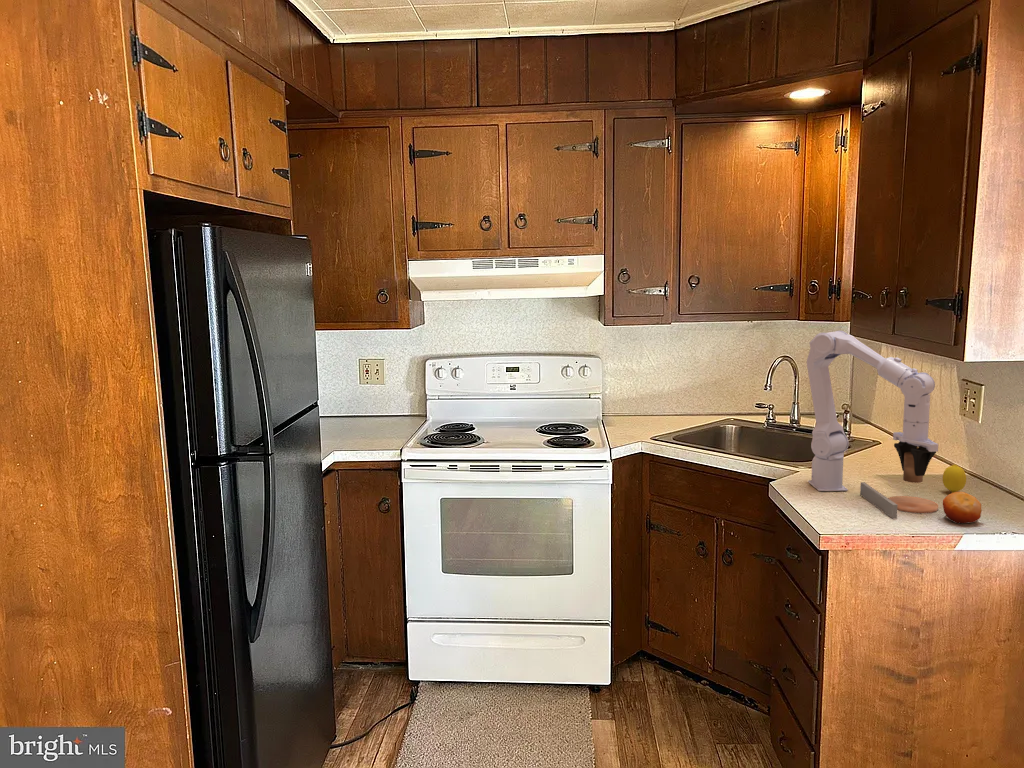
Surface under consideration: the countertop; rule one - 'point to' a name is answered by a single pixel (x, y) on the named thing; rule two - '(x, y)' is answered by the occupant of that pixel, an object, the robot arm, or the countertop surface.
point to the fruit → (962, 507)
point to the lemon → (954, 478)
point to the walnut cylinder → (910, 469)
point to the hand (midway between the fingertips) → (913, 473)
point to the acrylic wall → (879, 500)
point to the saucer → (914, 504)
